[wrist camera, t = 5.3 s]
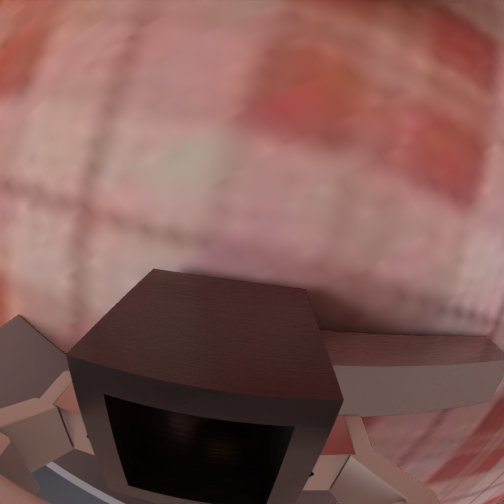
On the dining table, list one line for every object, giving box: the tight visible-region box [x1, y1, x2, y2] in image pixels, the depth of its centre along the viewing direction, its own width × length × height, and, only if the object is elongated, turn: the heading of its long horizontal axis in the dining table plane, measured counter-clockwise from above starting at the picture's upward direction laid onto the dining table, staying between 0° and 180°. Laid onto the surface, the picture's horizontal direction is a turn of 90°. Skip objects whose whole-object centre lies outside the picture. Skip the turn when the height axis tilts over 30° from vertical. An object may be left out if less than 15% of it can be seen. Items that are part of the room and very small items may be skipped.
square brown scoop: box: [66, 269, 504, 504], centre depth 9 cm, size 16×6×6 cm, turn 83°
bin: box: [0, 315, 336, 504], centre depth 13 cm, size 22×12×6 cm, turn 56°
